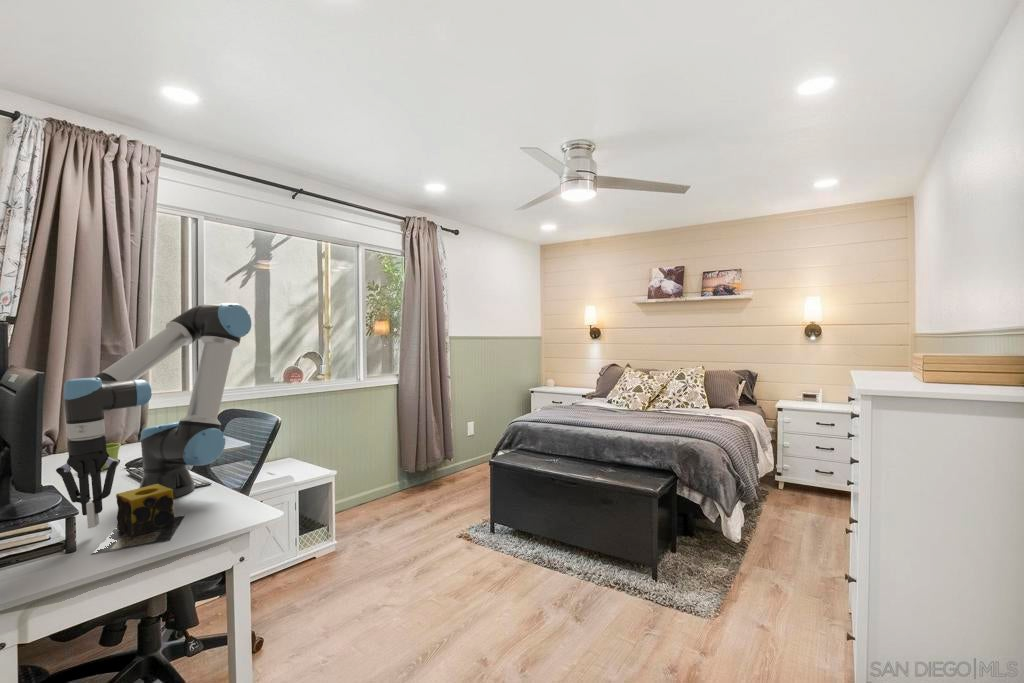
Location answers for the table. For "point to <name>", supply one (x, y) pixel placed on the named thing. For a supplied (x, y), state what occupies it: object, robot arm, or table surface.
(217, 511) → the table surface
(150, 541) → the label plate
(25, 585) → the table surface
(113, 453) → the plant pot
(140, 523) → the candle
